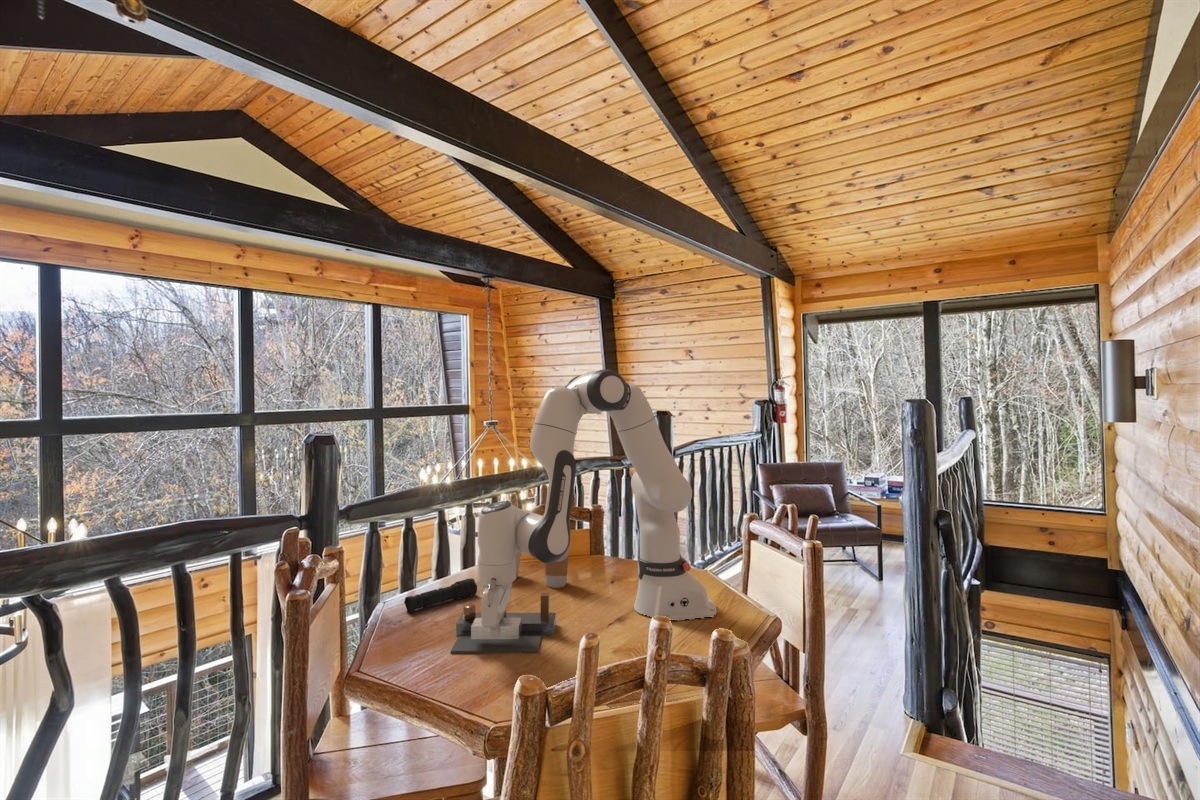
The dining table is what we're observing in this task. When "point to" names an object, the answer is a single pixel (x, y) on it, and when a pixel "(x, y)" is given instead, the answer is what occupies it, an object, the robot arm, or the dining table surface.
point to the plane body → (530, 621)
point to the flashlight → (441, 595)
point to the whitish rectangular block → (507, 629)
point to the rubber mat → (497, 645)
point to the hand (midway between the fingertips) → (497, 630)
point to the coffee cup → (557, 572)
